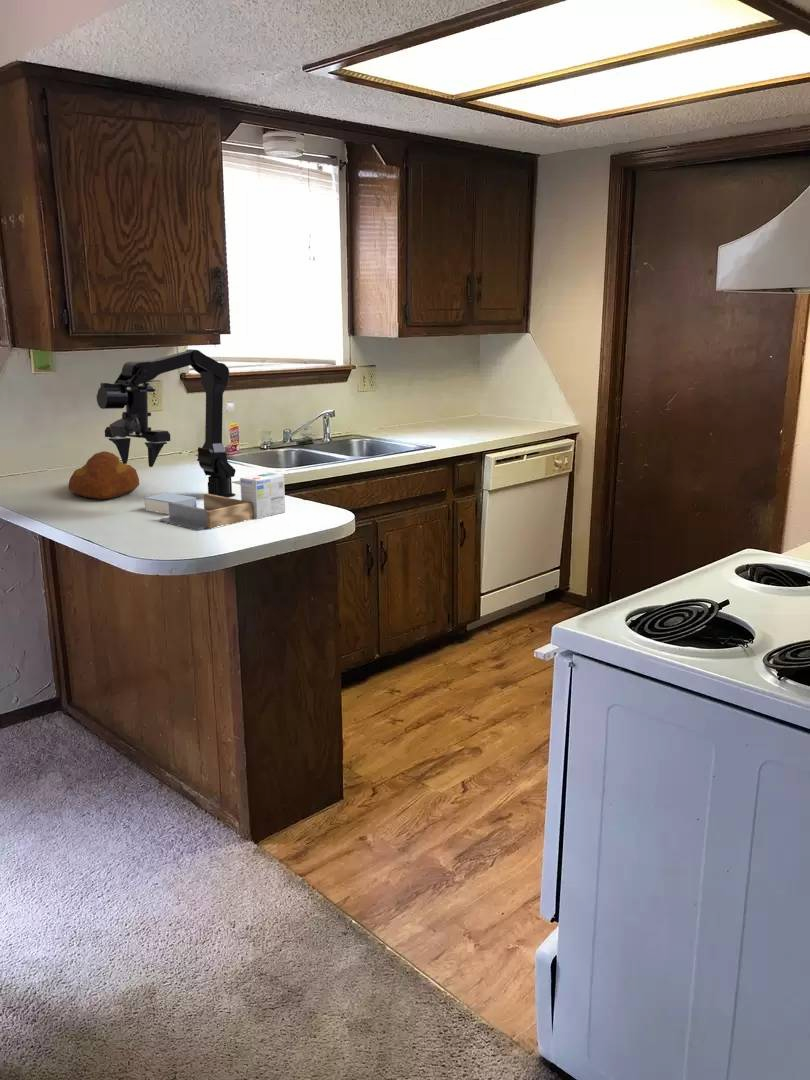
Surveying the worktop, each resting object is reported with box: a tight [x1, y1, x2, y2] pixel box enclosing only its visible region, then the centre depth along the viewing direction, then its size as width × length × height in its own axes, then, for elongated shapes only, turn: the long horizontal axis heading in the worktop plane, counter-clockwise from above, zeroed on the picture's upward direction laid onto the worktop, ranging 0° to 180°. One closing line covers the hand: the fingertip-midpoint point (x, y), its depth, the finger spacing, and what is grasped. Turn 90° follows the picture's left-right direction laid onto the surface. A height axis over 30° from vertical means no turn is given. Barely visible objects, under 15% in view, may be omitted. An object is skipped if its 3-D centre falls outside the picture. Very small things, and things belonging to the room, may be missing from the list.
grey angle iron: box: [159, 502, 210, 531], centre depth 224 cm, size 4×16×4 cm, turn 51°
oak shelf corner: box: [202, 492, 254, 529], centre depth 231 cm, size 14×19×4 cm
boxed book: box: [144, 492, 198, 515], centre depth 241 cm, size 8×12×4 cm
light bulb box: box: [239, 472, 286, 519], centre depth 235 cm, size 11×7×11 cm, turn 141°
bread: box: [67, 450, 140, 500], centre depth 265 cm, size 21×33×12 cm, turn 14°
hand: (137, 465), depth 238 cm, fingers open, 9 cm apart
